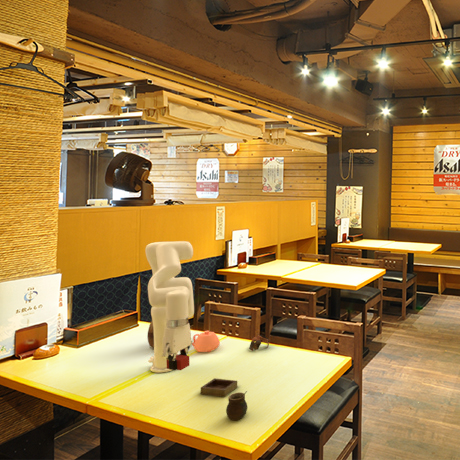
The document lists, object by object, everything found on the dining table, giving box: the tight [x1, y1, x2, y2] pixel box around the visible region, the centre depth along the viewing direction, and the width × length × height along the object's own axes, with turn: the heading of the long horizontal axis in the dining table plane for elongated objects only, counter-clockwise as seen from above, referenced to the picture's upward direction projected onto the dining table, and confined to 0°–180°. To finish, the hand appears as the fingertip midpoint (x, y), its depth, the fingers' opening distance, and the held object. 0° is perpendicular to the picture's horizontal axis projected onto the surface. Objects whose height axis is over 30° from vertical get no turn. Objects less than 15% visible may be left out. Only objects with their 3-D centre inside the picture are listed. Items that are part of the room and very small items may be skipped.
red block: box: [167, 354, 190, 371], centre depth 146 cm, size 6×4×4 cm
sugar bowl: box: [191, 330, 220, 353], centre depth 196 cm, size 12×14×10 cm
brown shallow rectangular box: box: [200, 378, 238, 398], centre depth 153 cm, size 11×8×3 cm
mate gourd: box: [225, 390, 248, 421], centre depth 134 cm, size 7×8×10 cm
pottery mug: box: [249, 334, 270, 352], centre depth 199 cm, size 12×10×8 cm
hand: (178, 366), depth 146 cm, fingers closed on red block, 4 cm apart
